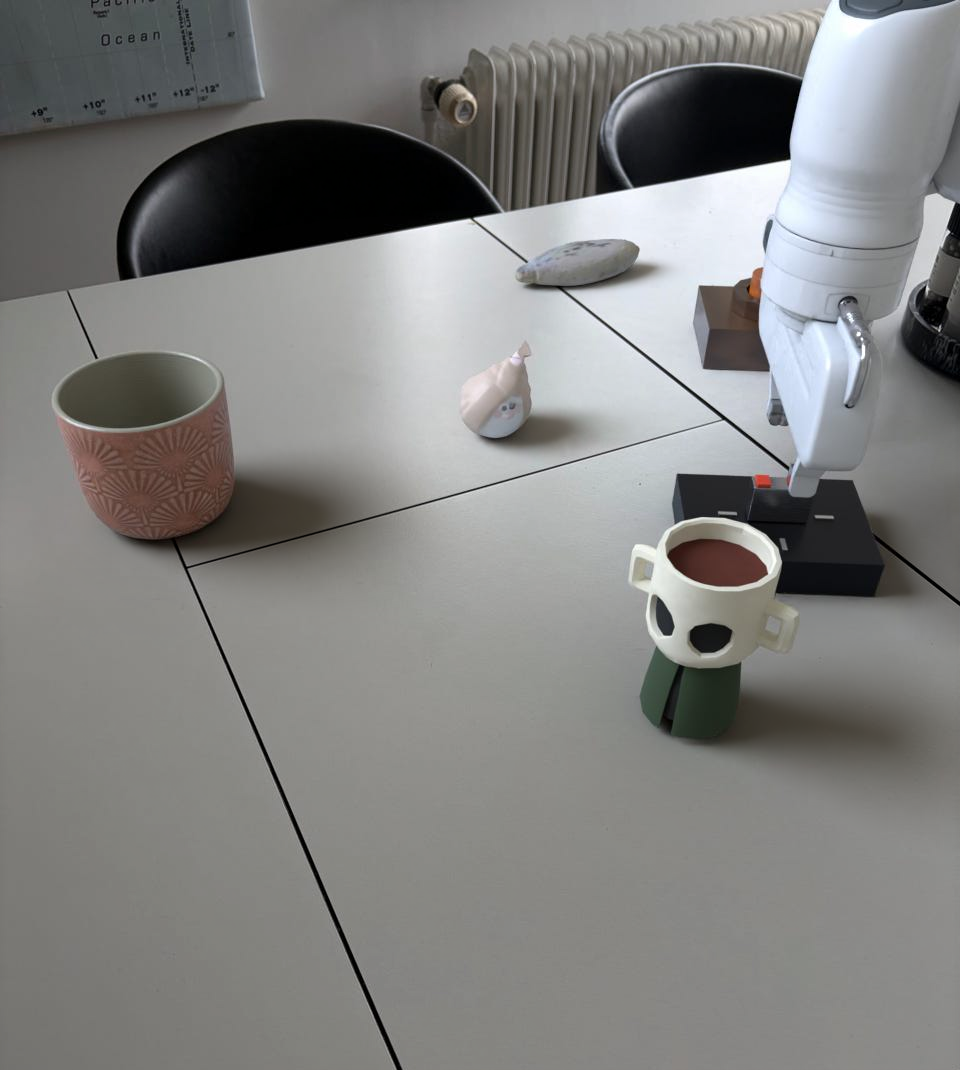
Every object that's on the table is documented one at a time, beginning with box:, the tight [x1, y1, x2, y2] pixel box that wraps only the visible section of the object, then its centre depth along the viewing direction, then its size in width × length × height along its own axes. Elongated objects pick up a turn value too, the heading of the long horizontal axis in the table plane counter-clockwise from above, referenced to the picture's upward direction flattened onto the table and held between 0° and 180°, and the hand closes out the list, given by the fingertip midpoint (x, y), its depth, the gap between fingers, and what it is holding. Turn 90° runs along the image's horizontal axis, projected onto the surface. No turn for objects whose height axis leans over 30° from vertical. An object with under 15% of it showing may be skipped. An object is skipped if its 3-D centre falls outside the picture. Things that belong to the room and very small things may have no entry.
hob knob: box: [745, 474, 815, 523], centre depth 78 cm, size 4×2×3 cm, turn 87°
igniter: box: [692, 277, 770, 372], centre depth 104 cm, size 12×10×6 cm
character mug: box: [627, 517, 801, 740], centre depth 64 cm, size 11×7×13 cm, turn 53°
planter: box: [51, 348, 235, 540], centre depth 80 cm, size 12×12×11 cm
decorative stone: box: [514, 238, 641, 287], centre depth 117 cm, size 6×16×3 cm, turn 116°
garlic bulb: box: [458, 339, 533, 439], centre depth 91 cm, size 7×6×8 cm
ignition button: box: [749, 266, 763, 298], centre depth 102 cm, size 4×4×2 cm
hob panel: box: [671, 472, 886, 598], centre depth 80 cm, size 14×11×3 cm
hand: (788, 454), depth 75 cm, fingers open, 8 cm apart
